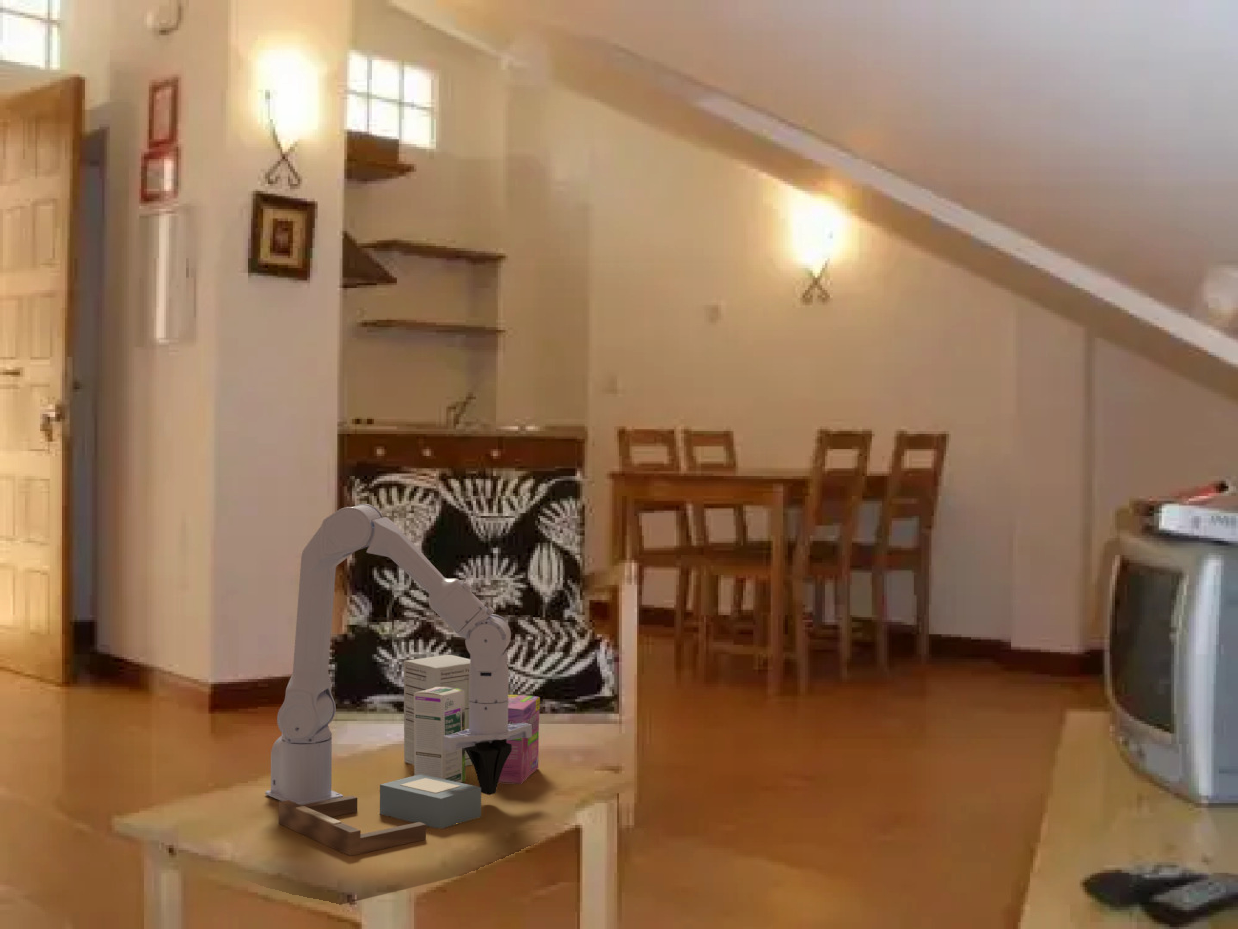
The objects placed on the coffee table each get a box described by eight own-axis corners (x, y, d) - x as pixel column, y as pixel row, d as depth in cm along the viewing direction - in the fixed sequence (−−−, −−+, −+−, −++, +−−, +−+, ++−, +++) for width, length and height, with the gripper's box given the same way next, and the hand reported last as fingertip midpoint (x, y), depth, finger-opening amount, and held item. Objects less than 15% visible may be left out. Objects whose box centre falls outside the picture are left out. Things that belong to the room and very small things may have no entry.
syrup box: (443, 790, 215) (444, 694, 215) (412, 785, 218) (413, 690, 218) (465, 782, 220) (466, 688, 220) (434, 777, 223) (435, 685, 223)
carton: (379, 816, 202) (379, 784, 202) (420, 804, 208) (420, 773, 208) (440, 831, 195) (440, 798, 194) (480, 819, 201) (481, 786, 201)
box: (522, 785, 219) (523, 708, 219) (486, 782, 220) (487, 706, 220) (539, 769, 229) (540, 696, 229) (505, 767, 230) (506, 694, 230)
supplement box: (449, 753, 239) (450, 653, 239) (482, 763, 233) (483, 660, 232) (401, 762, 233) (402, 659, 232) (434, 772, 226) (435, 666, 226)
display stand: (278, 823, 196) (278, 800, 196) (351, 809, 204) (352, 787, 204) (350, 856, 182) (350, 831, 182) (425, 839, 190) (426, 815, 190)
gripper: (463, 710, 200) (462, 807, 200) (544, 698, 209) (544, 790, 210) (435, 702, 205) (434, 796, 205) (515, 691, 215) (515, 781, 215)
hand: (488, 793), depth 208 cm, fingers closed
